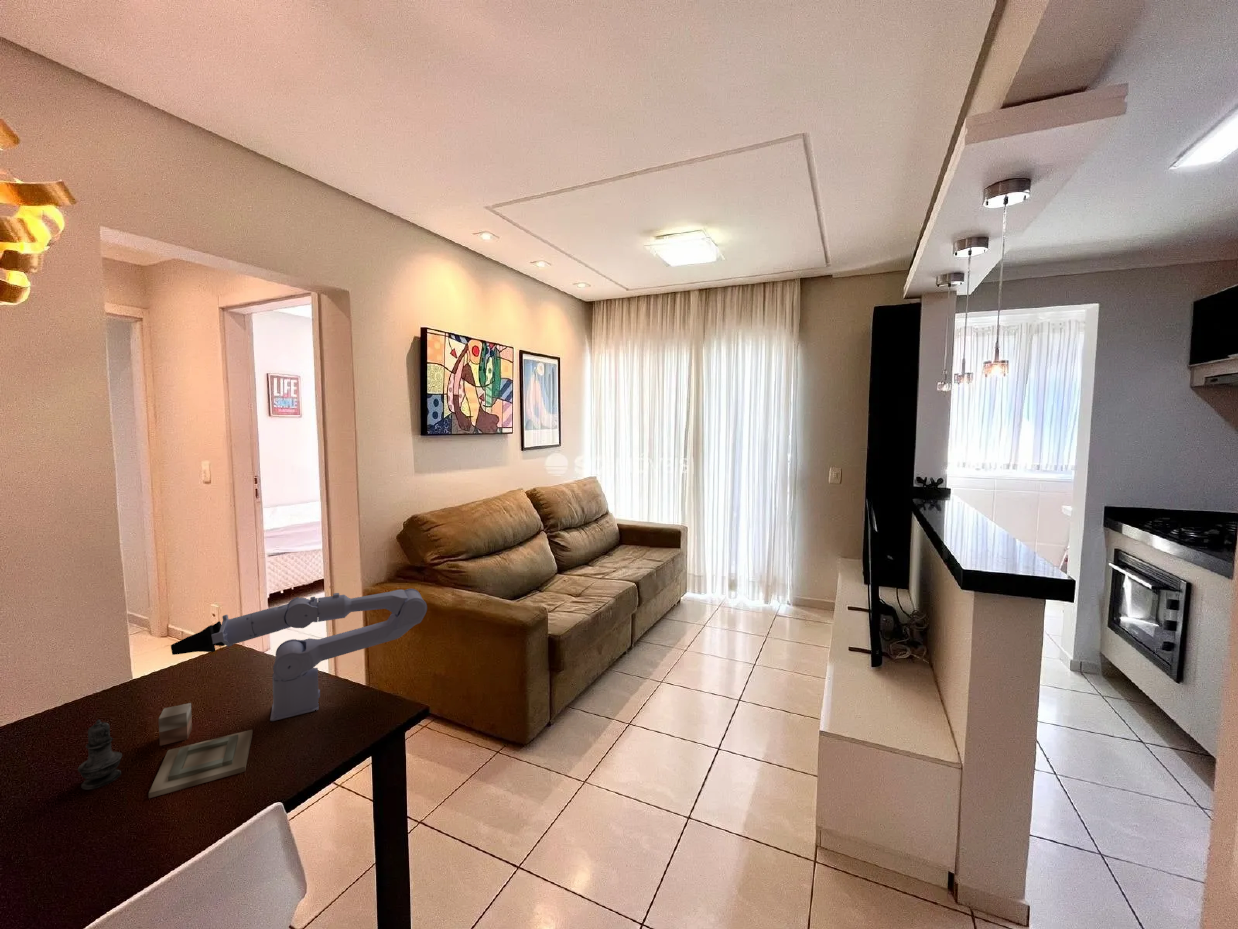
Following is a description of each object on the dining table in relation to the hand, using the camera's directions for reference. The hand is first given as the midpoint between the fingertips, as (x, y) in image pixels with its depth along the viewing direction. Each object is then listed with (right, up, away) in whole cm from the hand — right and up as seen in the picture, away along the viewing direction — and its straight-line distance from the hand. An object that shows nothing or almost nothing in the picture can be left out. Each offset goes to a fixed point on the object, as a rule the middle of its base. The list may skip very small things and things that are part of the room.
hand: (177, 647), depth 106 cm
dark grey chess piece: (-3, -21, -12) cm, 25 cm away
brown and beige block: (-1, -20, +1) cm, 20 cm away
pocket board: (+12, -21, -7) cm, 25 cm away
